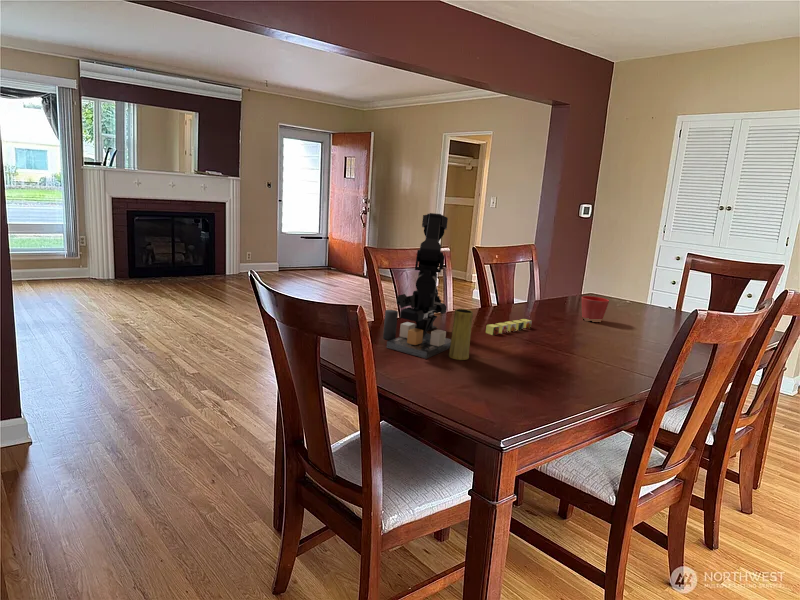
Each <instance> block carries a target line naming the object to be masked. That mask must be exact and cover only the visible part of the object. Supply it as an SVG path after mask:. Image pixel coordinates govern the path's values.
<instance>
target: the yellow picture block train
mask: <svg viewBox="0 0 800 600" xmlns="http://www.w3.org/2000/svg"><path fill="white" fill-rule="evenodd" d="M530 327H531V328H532V320H531V319H526V318H521V319H519V320H518V319H516V320H515V319H514V320H511V321H509V320H508V321H504V322H498V323H497V322H496V323H495V324H493V323H492V324H487V325H486V328H485V334H488V335H491V336H495V335H499V334H507V333H512V332H511V331H513V332H516V331H517V330H518V331H522V330H521V329H523V328H529V329H531V328H530ZM515 329H516V330H515ZM523 330H524V329H523ZM508 331H509V332H508ZM506 332H507V333H506Z"/></svg>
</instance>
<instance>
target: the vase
mask: <svg viewBox="0 0 800 600" xmlns="http://www.w3.org/2000/svg"><path fill="white" fill-rule="evenodd" d="M473 315H474V312H473V310H471V309H466V308H456V309H455V310H454V315H453V316H454V317H453V324H452V325H453V326H452V332H451V338H450V339H451V344H450V348H449V349H448V350H449V352H448V357H449V358H450V359H453V360H455V361H467V360H469V358H470V345H471V344H470V343H471V333H472V323H473Z"/></svg>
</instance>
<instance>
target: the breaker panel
mask: <svg viewBox="0 0 800 600" xmlns="http://www.w3.org/2000/svg"><path fill="white" fill-rule="evenodd" d="M430 339H431V333H429V332H427V333H426V335H425V336H424V338H423V339H422V343H420V344H417V345H412V344H409V343H407V338H404V337H400V336H398V337H396V338H395V339H392V340H387V341H386V349H390V350H394V351H397V352H401V353H403V354H404V353H405V354H408V355H411V356H414V357H415V356H416V357H418V358H422V359H425V360H426V359H430V358H431V357H433V356H436V355H438V354H440V353H442V352H445V351H447V350H450V344H451V338H447V337H446V338H445V344H443V345H441V346H439V347H438V346H435V345H431V344H430Z"/></svg>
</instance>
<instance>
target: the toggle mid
mask: <svg viewBox="0 0 800 600" xmlns="http://www.w3.org/2000/svg"><path fill="white" fill-rule="evenodd" d="M422 339H423V330H421V329H417V328H413V329H410V330H408V337H407V343H409V344H412V345H417V344H420V343H422Z"/></svg>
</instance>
